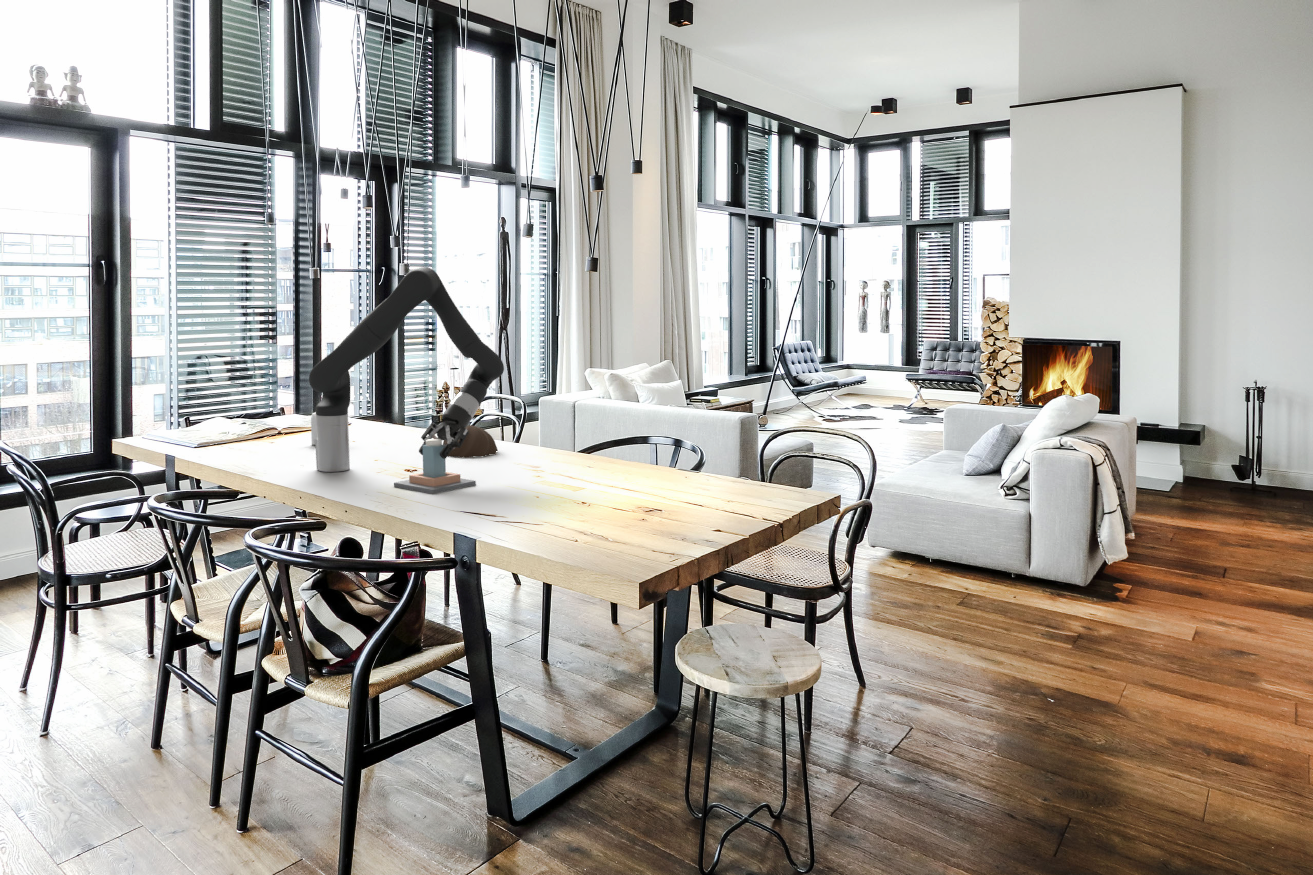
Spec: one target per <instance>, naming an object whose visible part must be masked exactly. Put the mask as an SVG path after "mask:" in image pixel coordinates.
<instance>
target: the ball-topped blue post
mask: <svg viewBox="0 0 1313 875" xmlns="http://www.w3.org/2000/svg"><path fill="white" fill-rule="evenodd" d="M444 446H445V445H443V440H441V439H433V438H432V439H427V440H426V445H423V455H422V470H423V471H422V473H423V476H425V477H430V478H437V477H442V476H446V472H447V471H446V467H447V466H446V459H443V458H442V457H441V456H440V452H441V451H442V449H443V448H444Z"/></svg>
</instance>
